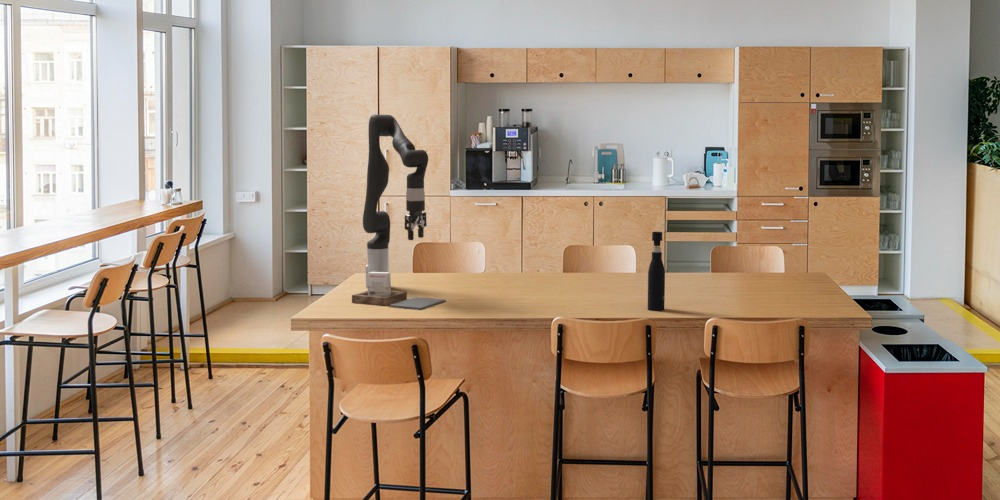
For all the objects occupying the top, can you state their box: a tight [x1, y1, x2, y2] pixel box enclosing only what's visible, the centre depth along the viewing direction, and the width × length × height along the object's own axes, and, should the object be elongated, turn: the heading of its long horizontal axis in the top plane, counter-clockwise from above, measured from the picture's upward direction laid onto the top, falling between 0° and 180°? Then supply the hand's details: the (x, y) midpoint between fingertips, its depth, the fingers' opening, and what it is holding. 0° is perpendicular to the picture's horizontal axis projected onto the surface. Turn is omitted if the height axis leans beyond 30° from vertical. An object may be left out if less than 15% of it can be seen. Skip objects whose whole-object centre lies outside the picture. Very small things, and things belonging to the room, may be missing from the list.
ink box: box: [367, 271, 392, 297], centre depth 421 cm, size 8×5×12 cm, turn 79°
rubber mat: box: [389, 296, 447, 311], centre depth 414 cm, size 14×20×1 cm
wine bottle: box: [647, 231, 666, 312], centre depth 399 cm, size 6×6×30 cm
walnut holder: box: [351, 290, 408, 306], centre depth 421 cm, size 16×16×3 cm
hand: (415, 238), depth 424 cm, fingers open, 8 cm apart
